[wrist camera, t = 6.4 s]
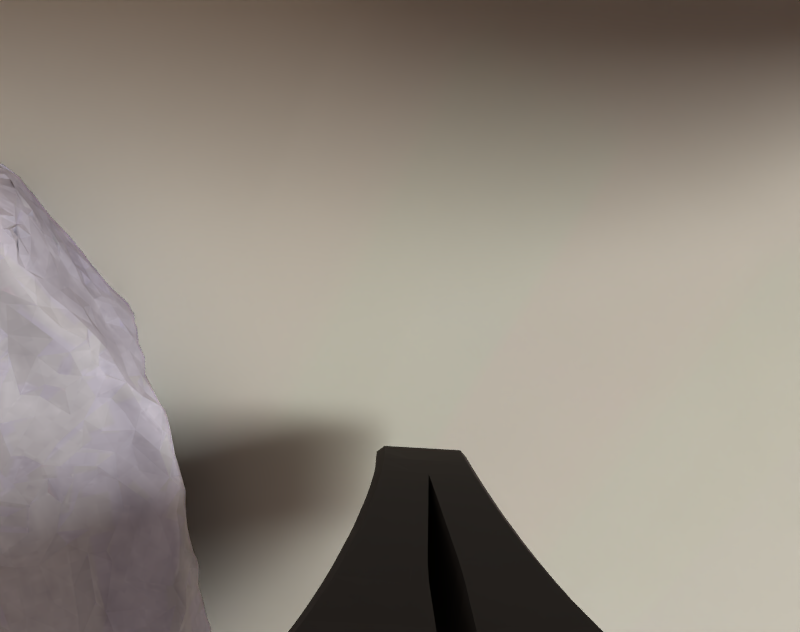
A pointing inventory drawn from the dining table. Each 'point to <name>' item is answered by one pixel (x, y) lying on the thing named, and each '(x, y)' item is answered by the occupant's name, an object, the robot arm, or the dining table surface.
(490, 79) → the dining table surface
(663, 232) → the dining table surface
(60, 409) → the stone block
